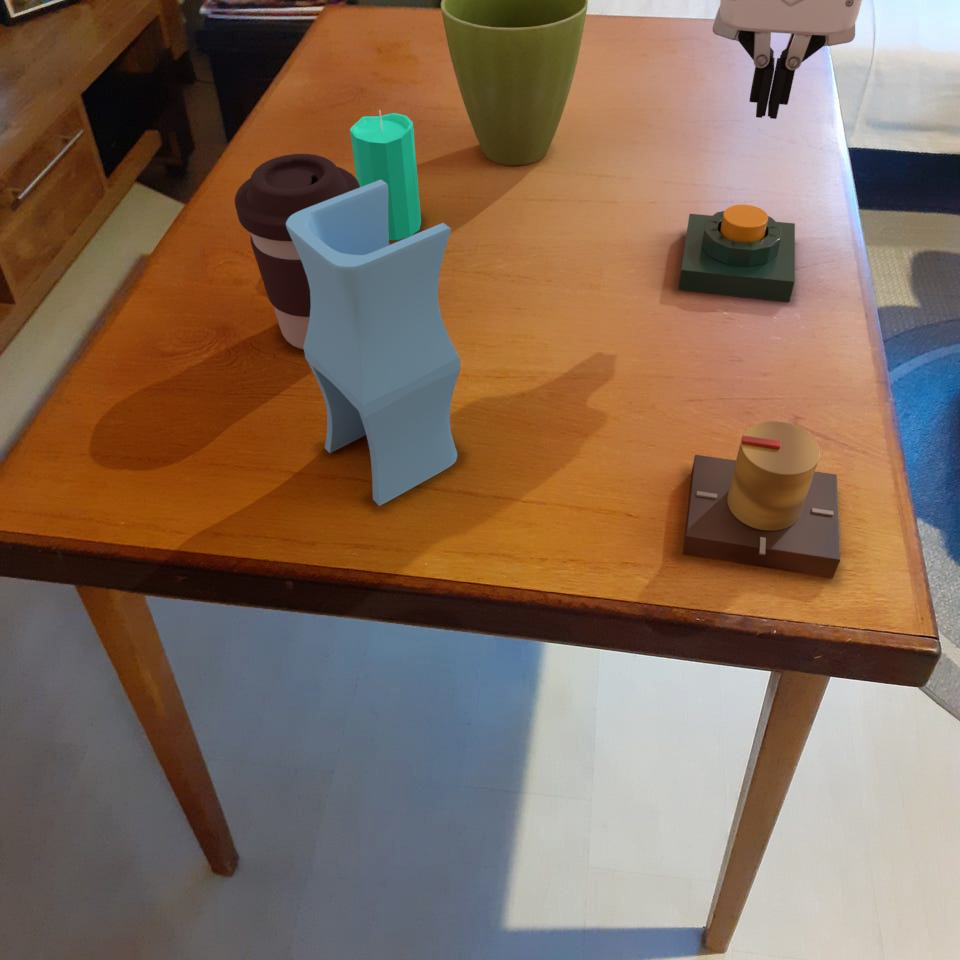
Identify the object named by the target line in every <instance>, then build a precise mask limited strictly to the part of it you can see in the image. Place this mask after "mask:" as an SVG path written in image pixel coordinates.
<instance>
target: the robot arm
mask: <svg viewBox="0 0 960 960" xmlns="http://www.w3.org/2000/svg"><path fill="white" fill-rule="evenodd" d="M862 1H863V0H720V1H719V2H720V3H719V7H718V9H717V11H716V14H715V17H714V19H713V22H712V32H713V34H715V35H716V36H720V37H721V38H725V39H728V40H731V41H736V42H739V44H740V45H741V46H742V47H743V49H744V50H745V52H746V53H747V54H748V55H749V57H750V58H751V59H752V61H753V65H754V72H753V77H752V83H751V88H750V92H749V93H750V94H749V100H748V101H749V103H756V111H755V118H759V119H760V118H761V119H762V118H763V117H766V114H767V117H769V119H772V120H777V118H778V113H779V109H780V105H785V106H787V105H788V104H789V101H790V96H791V95H790V94H791V91H792V86H793V82H794V77H795V73H796V70H798V69H799V68H800V67H801V65H802V63H803V62H805V61H806V60H808V59H809V58H810V57H811V56H813V55H814V54H815V53H817V52H818V51H819V50H820V49H822V48H823V47H832V46H837V45H842V44H849V43H851V42H853V41H854V39H855V38H856V22H857V19H858V16H859V12H860V10H861V6H862ZM772 33H773V34H788V35H789V34H790V36H789V38H788V41H787V44H786V47H785V49H783V50H782V51H781V54H779V57H777V58H775V57H774V55H775V54H774V53H775V50H773V49H772V46H771V39H772ZM775 59H776V63H775Z"/></svg>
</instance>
